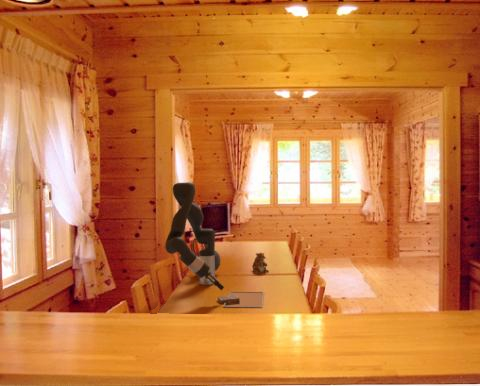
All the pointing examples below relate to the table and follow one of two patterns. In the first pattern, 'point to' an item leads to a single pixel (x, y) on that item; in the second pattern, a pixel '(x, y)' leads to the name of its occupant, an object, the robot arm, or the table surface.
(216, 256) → the pitcher
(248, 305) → the picture frame
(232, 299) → the walnut tile
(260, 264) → the brown bear figurine
